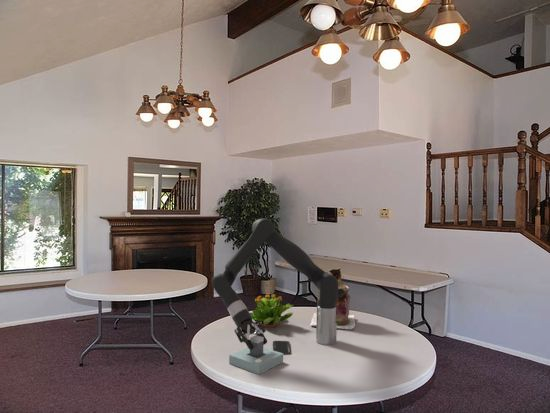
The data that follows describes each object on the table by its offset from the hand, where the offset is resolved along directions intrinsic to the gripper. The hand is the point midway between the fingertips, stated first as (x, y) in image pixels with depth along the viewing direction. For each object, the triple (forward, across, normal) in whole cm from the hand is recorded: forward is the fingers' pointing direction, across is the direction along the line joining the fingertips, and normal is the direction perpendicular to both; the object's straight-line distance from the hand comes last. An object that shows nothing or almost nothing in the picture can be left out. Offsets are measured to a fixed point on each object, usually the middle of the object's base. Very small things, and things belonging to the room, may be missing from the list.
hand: (259, 346), depth 158 cm
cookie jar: (+2, +73, +9) cm, 73 cm away
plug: (+4, 0, +6) cm, 7 cm away
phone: (+3, +20, +8) cm, 22 cm away
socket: (+4, 0, +6) cm, 7 cm away
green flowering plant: (-15, +46, +26) cm, 55 cm away
